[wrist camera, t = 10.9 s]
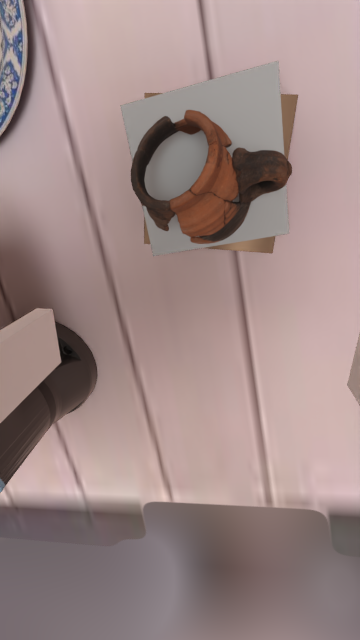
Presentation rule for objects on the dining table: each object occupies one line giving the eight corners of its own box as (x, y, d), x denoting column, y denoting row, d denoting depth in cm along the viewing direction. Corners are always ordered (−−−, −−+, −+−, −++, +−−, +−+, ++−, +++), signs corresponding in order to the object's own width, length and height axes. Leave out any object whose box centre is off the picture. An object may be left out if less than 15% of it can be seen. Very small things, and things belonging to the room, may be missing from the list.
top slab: (161, 249, 35) (153, 256, 31) (134, 115, 30) (120, 105, 27) (282, 228, 32) (289, 233, 28) (272, 77, 27) (278, 60, 24)
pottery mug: (175, 258, 31) (123, 235, 24) (170, 168, 32) (119, 119, 25) (302, 234, 26) (285, 194, 18) (294, 125, 26) (274, 45, 19)
